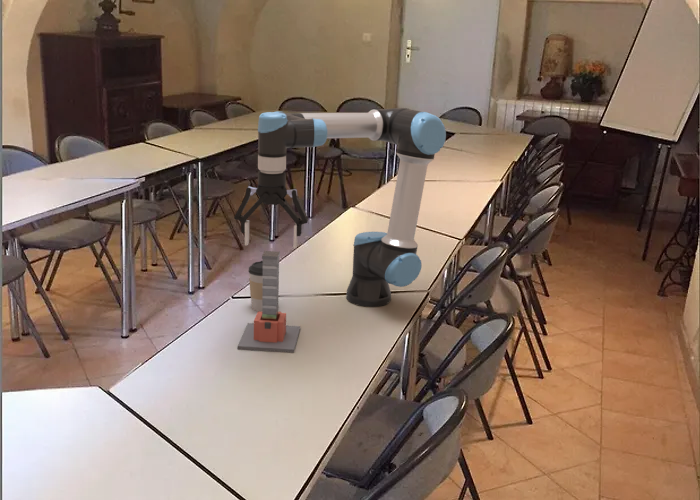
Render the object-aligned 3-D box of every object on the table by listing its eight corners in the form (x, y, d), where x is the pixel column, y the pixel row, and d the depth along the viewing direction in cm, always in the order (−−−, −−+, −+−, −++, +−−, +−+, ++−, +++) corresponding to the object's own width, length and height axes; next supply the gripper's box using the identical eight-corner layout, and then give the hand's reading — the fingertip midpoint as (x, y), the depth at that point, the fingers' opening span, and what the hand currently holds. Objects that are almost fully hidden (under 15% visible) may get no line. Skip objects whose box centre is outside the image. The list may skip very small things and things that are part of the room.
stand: (300, 329, 216) (300, 307, 214) (293, 352, 201) (294, 329, 199) (247, 326, 217) (247, 304, 214) (237, 349, 201) (237, 325, 199)
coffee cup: (271, 314, 226) (272, 269, 221) (244, 310, 227) (244, 266, 223) (280, 303, 234) (280, 260, 230) (253, 300, 236) (253, 257, 231)
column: (278, 313, 209) (279, 251, 203) (276, 319, 204) (277, 256, 198) (264, 312, 209) (264, 250, 203) (261, 318, 205) (261, 255, 199)
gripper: (319, 170, 196) (316, 243, 203) (229, 165, 197) (229, 238, 204) (316, 176, 189) (314, 252, 196) (223, 171, 190) (224, 246, 197)
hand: (271, 245), depth 200 cm, fingers open, 13 cm apart
